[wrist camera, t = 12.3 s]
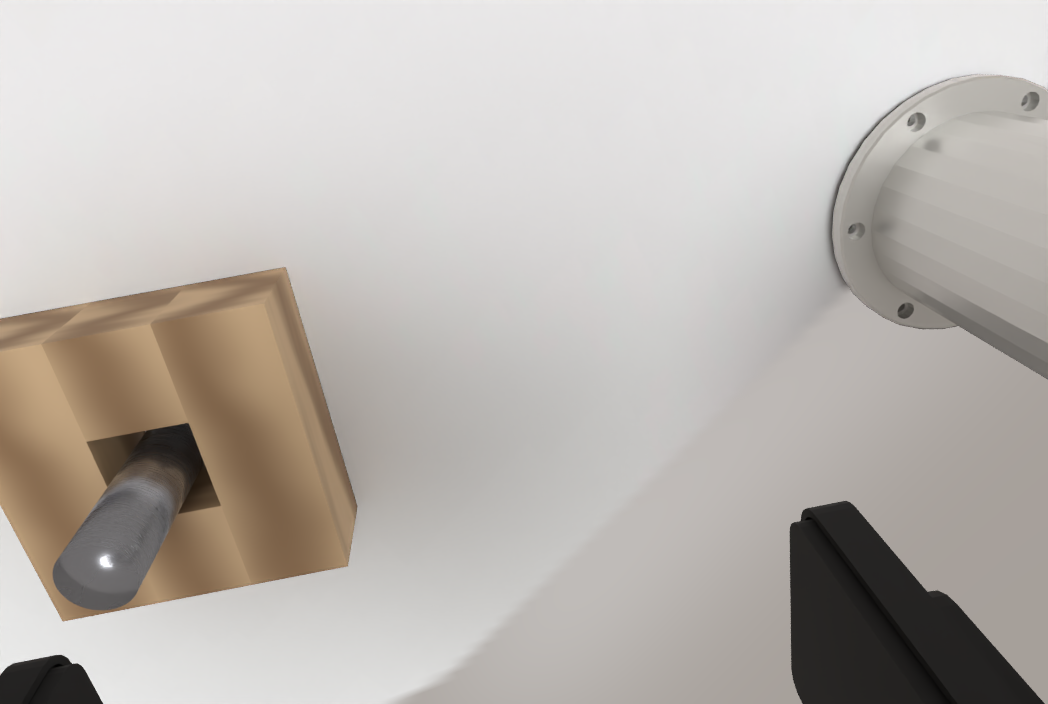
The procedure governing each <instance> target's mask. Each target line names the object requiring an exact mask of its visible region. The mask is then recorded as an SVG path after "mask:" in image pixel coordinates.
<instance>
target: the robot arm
mask: <svg viewBox="0 0 1048 704" xmlns="http://www.w3.org/2000/svg"><path fill="white" fill-rule="evenodd" d="M909 118H910V121H909V122H908V119H909ZM907 123H908V124H907ZM851 225H852V226H851ZM850 226H851V229H850V230H849V228H850ZM848 230H849V231H848ZM832 239H833V246H834V253H835V259H836V261H837V264H838V267H839V270H840V272H841V275H842V277H843V279H844V280H845V282H846V283H847V285H848V287H849V288H850V290H851V291H852V293H853V294H854V295H855V296H857V298H858V299H859V300H861V301H862V302H863V303H864V304H865V305H866V306H867V307H868V308H870V309H871V310H873V311H875V312H876V313H878V314H879V315H881V316H882V317H883V318H885V319H888V320H890V321H892V322H894V323H896V324H899V325H903V326H908V327H913V328H918V329H945V328H950V327H956V326H960V327H961V328H963V329H965V330H966V331H968V332H970V333H971V334H973V335H975V336H976V337H978V338H980V339H981V340H983V341H985V342H986V343H988V344H990V345H991V346H993V347H995V348H996V349H998V350H1000V351H1001V352H1003V353H1005V354H1006V355H1008V356H1010V357H1011V358H1013V359H1015V360H1016V361H1018V362H1020V363H1021V364H1023V365H1025V366H1026V367H1028V368H1030V369H1031V370H1033V371H1035V372H1036V373H1038V374H1040V375H1041V376H1043V377H1045V378H1046V379H1048V90H1047V89H1046V88H1044V87H1042V86H1040V85H1038V84H1035V83H1033V82H1030V81H1028V80H1025V79H1022V78H1016V77H1009V76H1003V75H983V74H975V75H970V76H964V77H959V78H953V79H950V80H947V81H945V82H942V83H939V84H937V85H934V86H931V87H929V88H927V89H925V90H923V91H922V92H920V93H918V94H916V95H915V96H913V97H911V98H910V99H908V100H906V101H905V102H903V103H902V104H901V105H900V106H898V107H897V108H896V109H895V110H894V111H892V112H891V113H890V114H889V115H888V116H887V117H885V118H884V119H883V120H882V121H881V122H880V123H879V124H878V126H877V127H876V128H875V129H874V130H873V131H872V132H871V134H870V135H869V136H868V137H867V138H866V139H865V140H864V142H863V143H862V145H861V147H860V148H859V150H858V151H857V153H856V155H855V156H854V158H853V159H852V161H851V162H850V164H849V167H848V169H847V171H846V173H845V176H844V178H843V180H842V183H841V185H840V187H839V191H838V195H837V199H836V204H835V208H834V212H833V228H832ZM790 579H791V580H790V588H791V660H792V661H791V662H792V663H791V664H792V666H791V667H792V675H793V680H794V684H795V687H796V689H797V693H798V695H799V697H800V699H801V701H802V703H803V704H1044V702H1043V701H1042V700H1041V699H1040V698H1039V697H1038V696H1037V695H1036V693H1035V692H1034V691H1033V690H1032V689H1031V688H1030V687H1029V685H1027V683H1026V682H1025V681H1024V680H1023V679H1022V678H1021V676H1020V675H1019V674H1018V673H1017V672H1016V671H1015V670H1014V669H1013V667H1012V666H1011V665H1010V664H1009V663H1008V662H1007V661H1006V659H1005V658H1004V657H1003V656H1002V655H1001V654H1000V653H999V652H998V650H997V649H996V648H995V647H994V646H993V645H992V644H991V642H990V641H989V640H988V639H987V638H986V637H985V636H984V634H983V633H982V632H981V631H980V630H979V629H978V628H977V627H976V625H975V624H974V623H973V622H972V621H971V620H970V619H969V618H968V616H967V615H966V614H965V613H964V612H963V611H962V609H961V608H960V607H959V606H958V605H957V604H956V603H955V602H954V601H953V600H952V599H951V598H950V597H948V596H947V595H946V594H944V593H942V592H940V591H930V592H927V591H926V590H925V589H924V588H923V586H922V585H921V584H920V583H919V582H918V581H917V579H916V578H915V577H914V576H913V575H912V573H911V572H910V571H909V570H908V569H907V567H906V566H905V565H904V564H903V563H902V562H901V561H900V559H899V558H898V557H897V556H896V555H895V554H894V552H893V551H892V550H891V549H890V547H889V546H888V545H887V544H886V543H885V542H884V540H883V539H882V538H881V537H880V536H879V534H878V533H877V532H876V531H875V530H874V529H873V527H872V526H871V525H870V524H869V523H868V522H867V520H866V519H865V518H864V517H863V516H862V514H861V513H860V512H859V511H858V510H857V509H856V507H855V506H854V505H852V504H851V503H850V502H847V501H843V502H838V503H832V504H827V505H823V506H817V507H812V508H807V509H805V510H803V512H802V515H801V521H800V522H794V523H792V524H791V527H790ZM0 704H103V703H102V701H101V699H100V697H99V695H98V694H97V692H96V690H95V688H94V686H93V684H92V682H91V681H90V679H89V677H88V675H87V673H86V671H85V670H84V668H83V667H82V666H81V665H79V664H72V663H71V662H70V661H69V659H68V658H66V657H65V656H63V655H54V656H49V657H44V658H39V659H34V660H29V661H24V662H19V663H14V664H12V665H10V666H8V667H7V668H6V669H5V670H4V671H3V672H2V674H1V675H0Z"/></svg>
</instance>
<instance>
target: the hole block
mask: <svg viewBox="0 0 1048 704" xmlns="http://www.w3.org/2000/svg"><path fill="white" fill-rule="evenodd" d="M184 423H189V425H190V428H191V430H192V433H193V435H194V438H195V440H196V443H197V446H198V448H199V451H200V453H201V456H202V458H203V461H204V464H203V466H202V468H201V470H200V472H199V474H198V475H197V477H196V479H195V481H194V483H193V485H192V487H191V489H190V491H189V493H188V495H187V497H186V499H185V501H184V503H183V505H182V507H181V508H180V510H179V512H178V514H177V516H176V518H175V520H174V522H173V524H172V526H171V528H170V530H169V532H168V534H167V536H166V538H165V539H164V541H163V543H162V545H161V547H160V549H159V551H158V553H157V555H156V557H155V559H154V561H153V563H152V565H151V567H150V569H149V570H148V572H147V574H146V576H145V578H144V580H143V582H142V584H141V586H140V588H139V590H138V592H137V594H136V595H135V597H134V598H133V599H132V600H131V601H130V602H128V603H127V604H125V605H123V606H121V607H119V608H116V609H112V610H91V609H86V608H83V607H80V606H78V605H76V604H74V603H72V602H70V601H69V600H67V599H66V598H65V597H64V596H63V595H62V594H61V593H60V592H59V591H58V589H57V588H56V586H55V584H54V581H53V575H52V573H53V567H54V564H55V562H56V561H57V559H58V558H59V556H60V555H61V554H62V552H63V551H64V549H65V548H66V546H67V545H68V543H69V542H70V541H71V539H72V538H73V536H74V535H75V533H76V532H77V530H78V529H79V528H80V526H81V525H82V523H83V522H84V520H85V519H86V517H87V516H88V515H89V513H90V512H91V510H92V509H93V507H94V506H95V505H96V503H97V502H98V500H99V499H100V497H101V496H102V494H103V493H104V492H105V490H106V489H107V487H108V486H109V484H110V483H111V481H112V480H113V479H114V477H115V476H116V474H117V473H118V471H119V470H120V468H121V467H122V466H123V464H124V463H125V461H126V460H127V458H128V457H129V455H130V454H131V453H132V451H133V450H134V448H135V447H136V445H137V444H138V442H139V441H140V440H141V438H142V437H143V435H144V434H145V431H147V430H152V429H157V428H163V427H168V426H173V425H179V424H184ZM0 505H1V507H2V509H3V511H4V513H5V515H6V517H7V518H8V520H9V522H10V524H11V526H12V528H13V530H14V531H15V533H16V535H17V537H18V539H19V541H20V543H21V544H22V546H23V548H24V550H25V552H26V554H27V556H28V558H29V559H30V561H31V563H32V565H33V567H34V569H35V571H36V572H37V574H38V576H39V578H40V580H41V582H42V584H43V585H44V587H45V589H46V591H47V593H48V595H49V597H50V598H51V600H52V602H53V604H54V606H55V608H56V610H57V611H58V613H59V615H60V617H61V619H62V621H68V620H73V619H78V618H83V617H88V616H93V615H99V614H104V613H109V612H114V611H119V610H124V609H129V608H135V607H140V606H145V605H150V604H155V603H160V602H165V601H171V600H176V599H181V598H186V597H191V596H196V595H202V594H207V593H212V592H217V591H222V590H227V589H232V588H238V587H243V586H248V585H253V584H258V583H263V582H269V581H274V580H279V579H284V578H289V577H294V576H299V575H305V574H310V573H315V572H320V571H325V570H330V569H336V568H341V567H346V566H348V562H349V555H350V549H351V543H352V537H353V530H354V524H355V518H356V512H357V504H356V501H355V497H354V494H353V491H352V487H351V484H350V481H349V477H348V474H347V471H346V467H345V464H344V461H343V457H342V454H341V451H340V447H339V444H338V441H337V437H336V434H335V431H334V427H333V424H332V421H331V417H330V414H329V411H328V407H327V404H326V401H325V397H324V394H323V391H322V387H321V384H320V381H319V377H318V374H317V371H316V367H315V364H314V361H313V357H312V354H311V351H310V347H309V344H308V341H307V337H306V334H305V331H304V327H303V324H302V321H301V317H300V314H299V311H298V307H297V304H296V301H295V297H294V294H293V291H292V287H291V284H290V281H289V277H288V274H287V271H286V267H284V268H278V269H273V270H267V271H262V272H256V273H251V274H245V275H240V276H234V277H229V278H223V279H218V280H212V281H207V282H201V283H196V284H190V285H185V286H179V287H174V288H168V289H162V290H157V291H151V292H146V293H140V294H135V295H129V296H124V297H118V298H113V299H107V300H102V301H96V302H91V303H85V304H80V305H74V306H69V307H63V308H58V309H52V310H47V311H41V312H35V313H30V314H24V315H19V316H13V317H8V318H2V319H0Z"/></svg>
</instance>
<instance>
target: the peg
mask: <svg viewBox="0 0 1048 704" xmlns="http://www.w3.org/2000/svg"><path fill="white" fill-rule="evenodd" d="M203 464H204V461H203V458H202V456H201V453H200V451H199V448H198V446H197V443H196V440H195V438H194V435H193V433H192V430H191V428H190V425H189V423H184V424H179V425H173V426H168V427H163V428H157V429H152V430H147V431H146V432H145V434H144V435H143V437H142V438H141V440H140V441H139V442H138V444H137V445H136V447H135V448H134V450H133V451H132V453H131V454H130V455H129V457H128V458H127V460H126V461H125V463H124V464H123V466H122V467H121V468H120V470H119V471H118V473H117V474H116V476H115V477H114V479H113V480H112V481H111V483H110V484H109V486H108V487H107V489H106V490H105V492H104V493H103V494H102V496H101V497H100V499H99V500H98V502H97V503H96V505H95V506H94V507H93V509H92V510H91V512H90V513H89V515H88V516H87V517H86V519H85V520H84V522H83V523H82V525H81V526H80V528H79V529H78V530H77V532H76V533H75V535H74V536H73V538H72V539H71V541H70V542H69V543H68V545H67V546H66V548H65V549H64V551H63V552H62V554H61V555H60V556H59V558H58V559H57V561H56V562H55V564H54V567H53V573H52V575H53V581H54V584H55V586H56V588H57V589H58V591H59V592H60V593H61V594H62V595H63V596H64V597H65V598H66V599H67V600H69V601H70V602H72V603H74V604H76V605H78V606H80V607H83V608H86V609H91V610H112V609H116V608H119V607H121V606H123V605H125V604H127V603H128V602H130V601H131V600H132V599H133V598H134V597H135V595H136V594H137V592H138V590H139V588H140V586H141V584H142V582H143V580H144V578H145V576H146V574H147V572H148V570H149V569H150V567H151V565H152V563H153V561H154V559H155V557H156V555H157V553H158V551H159V549H160V547H161V545H162V543H163V541H164V539H165V538H166V536H167V534H168V532H169V530H170V528H171V526H172V524H173V522H174V520H175V518H176V516H177V514H178V512H179V510H180V508H181V507H182V505H183V503H184V501H185V499H186V497H187V495H188V493H189V491H190V489H191V487H192V485H193V483H194V481H195V479H196V477H197V475H198V474H199V472H200V470H201V468H202V466H203Z"/></svg>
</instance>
